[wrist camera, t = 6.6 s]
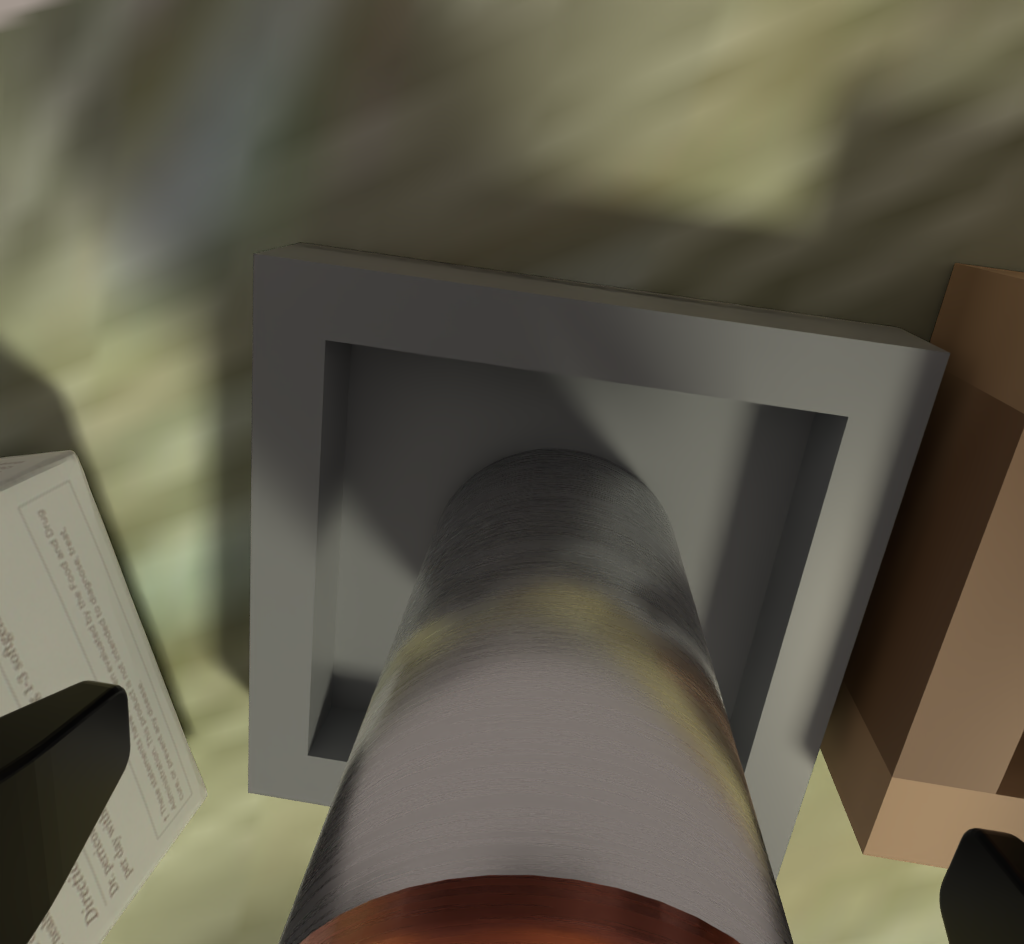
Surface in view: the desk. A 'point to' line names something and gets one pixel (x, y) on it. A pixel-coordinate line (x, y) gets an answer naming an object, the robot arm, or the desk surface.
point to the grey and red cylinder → (544, 740)
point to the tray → (575, 426)
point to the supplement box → (88, 656)
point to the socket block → (947, 607)
